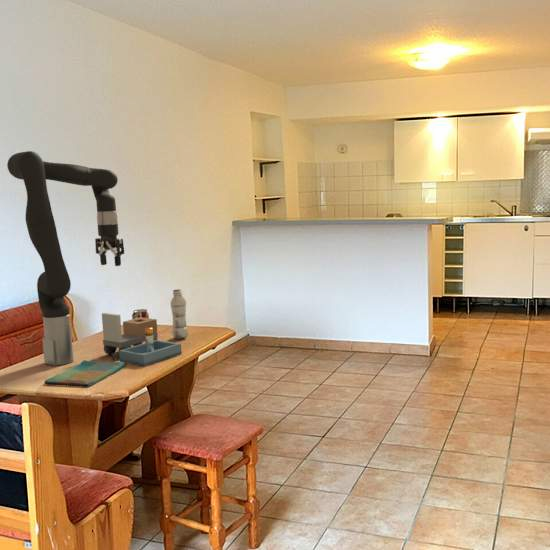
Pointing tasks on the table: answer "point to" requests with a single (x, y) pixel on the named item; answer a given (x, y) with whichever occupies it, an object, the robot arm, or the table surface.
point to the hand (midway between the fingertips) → (110, 265)
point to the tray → (150, 353)
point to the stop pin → (149, 339)
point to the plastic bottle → (179, 315)
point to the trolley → (125, 333)
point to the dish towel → (86, 374)
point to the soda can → (140, 314)
